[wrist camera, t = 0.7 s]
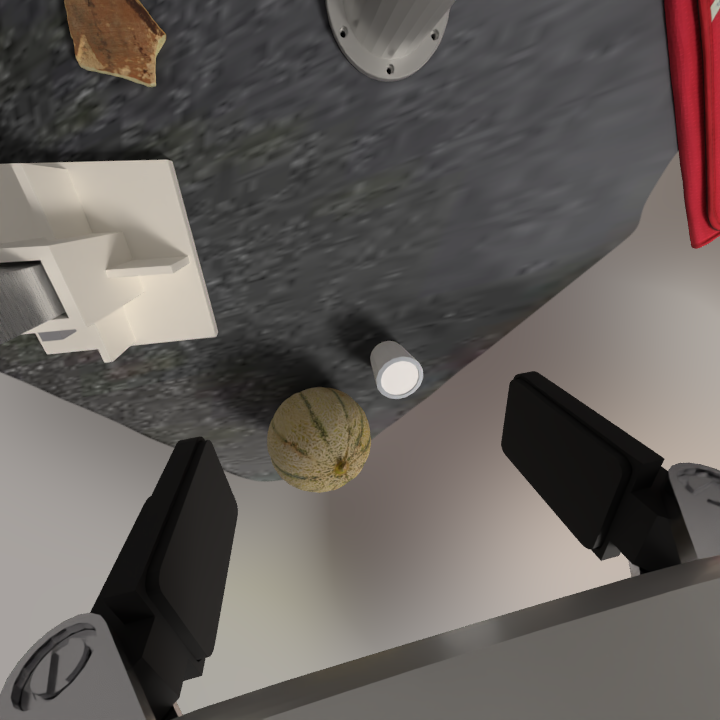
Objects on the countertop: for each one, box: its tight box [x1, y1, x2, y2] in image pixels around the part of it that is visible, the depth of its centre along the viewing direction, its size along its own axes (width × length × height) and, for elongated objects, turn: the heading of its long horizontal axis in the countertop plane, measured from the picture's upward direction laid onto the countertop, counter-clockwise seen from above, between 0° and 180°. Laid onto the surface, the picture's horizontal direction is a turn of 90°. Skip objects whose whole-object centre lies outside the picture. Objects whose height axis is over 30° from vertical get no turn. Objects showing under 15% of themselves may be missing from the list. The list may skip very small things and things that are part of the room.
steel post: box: [0, 260, 66, 344], centre depth 27 cm, size 4×4×18 cm
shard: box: [64, 0, 166, 87], centre depth 28 cm, size 11×8×2 cm
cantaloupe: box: [267, 387, 371, 493], centre depth 45 cm, size 15×15×15 cm
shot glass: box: [370, 341, 423, 399], centre depth 47 cm, size 7×7×7 cm
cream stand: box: [0, 160, 218, 363], centre depth 31 cm, size 20×20×14 cm
